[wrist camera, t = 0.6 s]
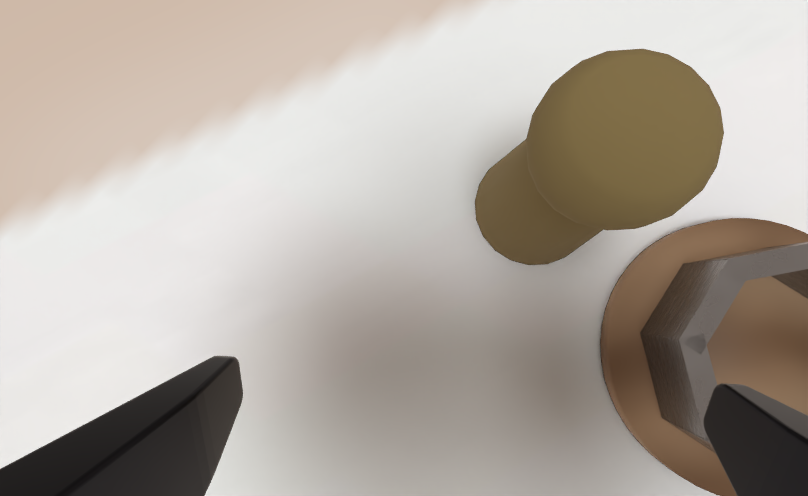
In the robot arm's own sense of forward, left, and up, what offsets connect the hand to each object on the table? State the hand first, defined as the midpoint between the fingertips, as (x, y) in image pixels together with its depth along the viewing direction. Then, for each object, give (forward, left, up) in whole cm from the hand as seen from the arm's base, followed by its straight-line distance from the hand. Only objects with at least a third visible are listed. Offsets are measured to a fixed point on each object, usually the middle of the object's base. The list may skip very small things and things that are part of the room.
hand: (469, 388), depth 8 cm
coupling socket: (-4, -14, -13) cm, 20 cm away
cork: (+5, -6, -14) cm, 16 cm away
